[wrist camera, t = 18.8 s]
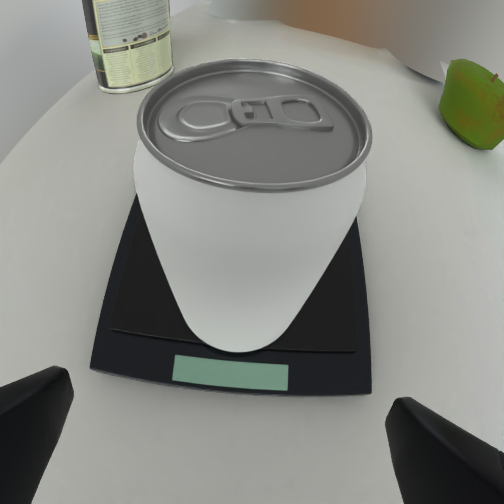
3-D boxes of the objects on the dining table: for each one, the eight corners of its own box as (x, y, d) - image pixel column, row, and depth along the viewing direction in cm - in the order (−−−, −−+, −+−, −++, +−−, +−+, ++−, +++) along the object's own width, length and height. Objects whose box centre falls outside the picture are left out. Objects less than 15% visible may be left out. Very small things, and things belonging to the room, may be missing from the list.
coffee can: (83, 90, 30) (62, -3, 18) (132, 57, 35) (123, -25, 23) (140, 99, 29) (125, -16, 17) (189, 63, 34) (187, -31, 22)
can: (176, 254, 18) (135, 62, 8) (281, 241, 19) (331, 57, 9) (186, 361, 15) (97, 230, 4) (306, 343, 16) (437, 199, 5)
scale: (363, 395, 16) (375, 393, 14) (96, 371, 15) (85, 367, 14) (342, 172, 25) (347, 158, 24) (157, 154, 24) (155, 140, 23)
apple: (431, 97, 37) (456, 41, 27) (492, 137, 34) (522, 87, 25) (424, 126, 31) (458, 55, 22) (497, 177, 29) (540, 117, 19)
